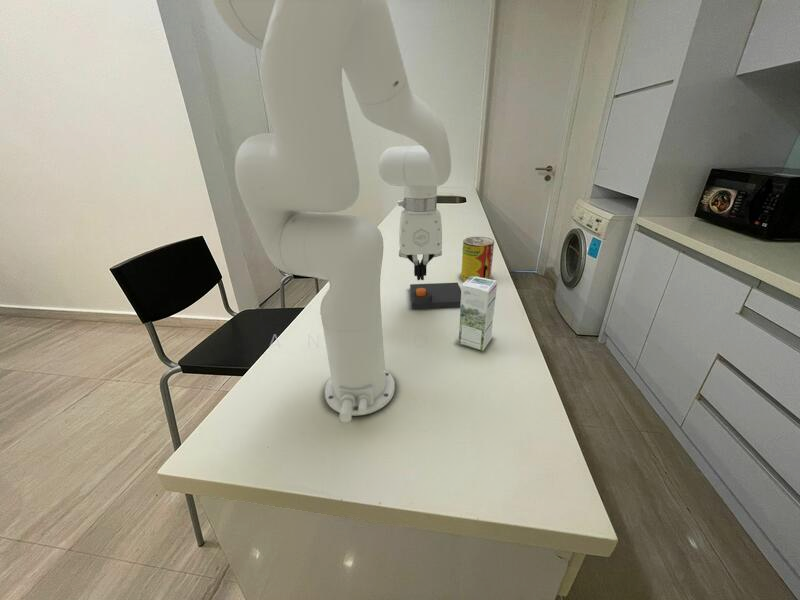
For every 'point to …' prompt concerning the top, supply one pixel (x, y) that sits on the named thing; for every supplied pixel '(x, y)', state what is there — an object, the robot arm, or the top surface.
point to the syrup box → (477, 312)
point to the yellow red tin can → (477, 257)
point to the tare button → (421, 292)
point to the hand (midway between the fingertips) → (420, 278)
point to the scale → (436, 296)
